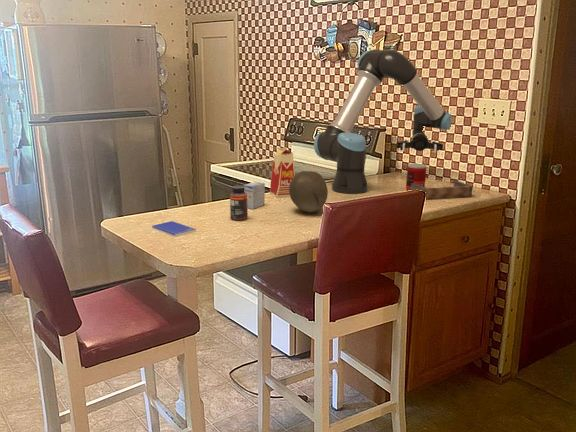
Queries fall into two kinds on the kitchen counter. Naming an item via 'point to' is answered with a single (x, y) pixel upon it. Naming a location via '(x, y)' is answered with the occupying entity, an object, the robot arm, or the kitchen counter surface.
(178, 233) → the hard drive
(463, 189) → the rail board
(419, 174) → the canned food
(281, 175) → the milk carton
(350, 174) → the robot arm
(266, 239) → the kitchen counter surface
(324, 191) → the dark grey round ball
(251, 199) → the medicine box
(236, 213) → the supplement bottle
